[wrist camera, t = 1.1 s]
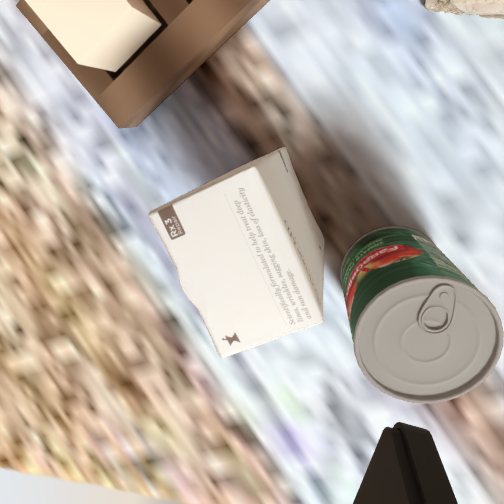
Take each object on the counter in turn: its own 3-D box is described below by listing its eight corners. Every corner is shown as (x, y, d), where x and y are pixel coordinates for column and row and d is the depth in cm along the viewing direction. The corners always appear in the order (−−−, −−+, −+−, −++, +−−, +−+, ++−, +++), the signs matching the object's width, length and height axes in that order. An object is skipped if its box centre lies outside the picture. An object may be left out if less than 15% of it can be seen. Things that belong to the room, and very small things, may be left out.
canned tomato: (424, 328, 35) (472, 419, 25) (329, 306, 35) (337, 386, 25) (458, 237, 32) (528, 296, 22) (355, 214, 33) (377, 261, 23)
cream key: (115, 71, 29) (78, 64, 24) (70, 16, 28) (22, -3, 24) (161, 24, 28) (131, 6, 23) (115, -35, 27) (74, -66, 22)
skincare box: (325, 239, 34) (337, 330, 20) (256, 267, 35) (221, 369, 21) (282, 139, 32) (261, 161, 18) (211, 173, 33) (140, 217, 19)
